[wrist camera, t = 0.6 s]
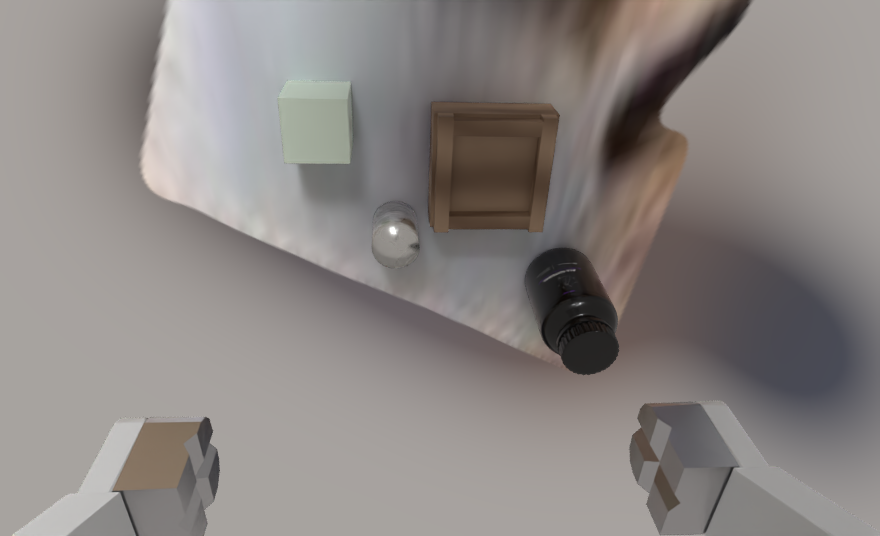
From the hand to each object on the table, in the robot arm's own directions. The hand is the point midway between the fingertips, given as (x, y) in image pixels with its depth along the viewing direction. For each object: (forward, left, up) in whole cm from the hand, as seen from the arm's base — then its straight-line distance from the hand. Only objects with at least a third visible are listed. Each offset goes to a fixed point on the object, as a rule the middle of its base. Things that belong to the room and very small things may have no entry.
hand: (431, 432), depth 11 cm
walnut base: (+10, +8, -41) cm, 43 cm away
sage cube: (+6, -6, -41) cm, 42 cm away
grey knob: (+16, 0, -41) cm, 44 cm away
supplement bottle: (+22, +16, -41) cm, 49 cm away
